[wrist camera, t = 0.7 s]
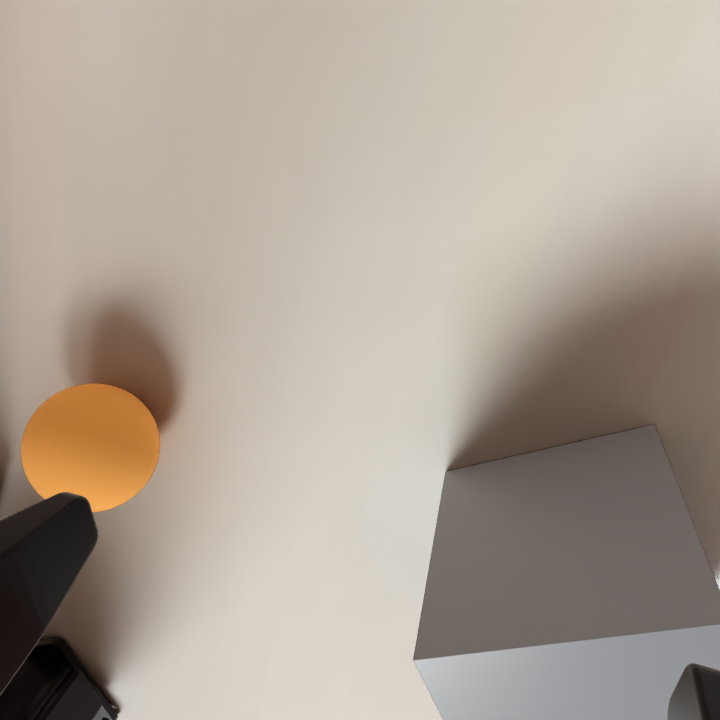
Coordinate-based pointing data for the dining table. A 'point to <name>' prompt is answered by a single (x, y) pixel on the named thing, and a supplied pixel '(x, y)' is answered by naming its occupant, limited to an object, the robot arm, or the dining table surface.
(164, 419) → the dining table surface
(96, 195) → the dining table surface
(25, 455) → the ball
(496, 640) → the grey block
